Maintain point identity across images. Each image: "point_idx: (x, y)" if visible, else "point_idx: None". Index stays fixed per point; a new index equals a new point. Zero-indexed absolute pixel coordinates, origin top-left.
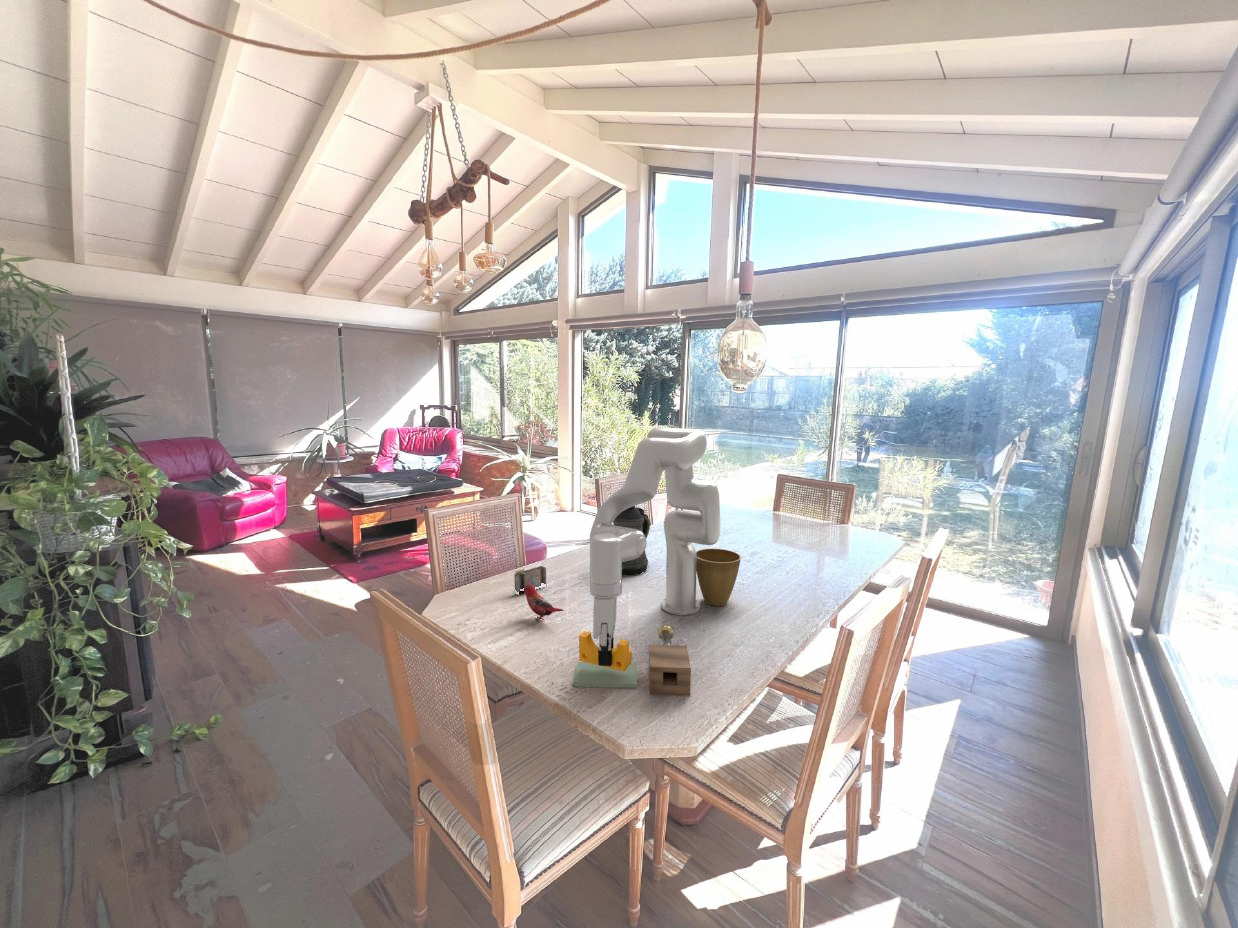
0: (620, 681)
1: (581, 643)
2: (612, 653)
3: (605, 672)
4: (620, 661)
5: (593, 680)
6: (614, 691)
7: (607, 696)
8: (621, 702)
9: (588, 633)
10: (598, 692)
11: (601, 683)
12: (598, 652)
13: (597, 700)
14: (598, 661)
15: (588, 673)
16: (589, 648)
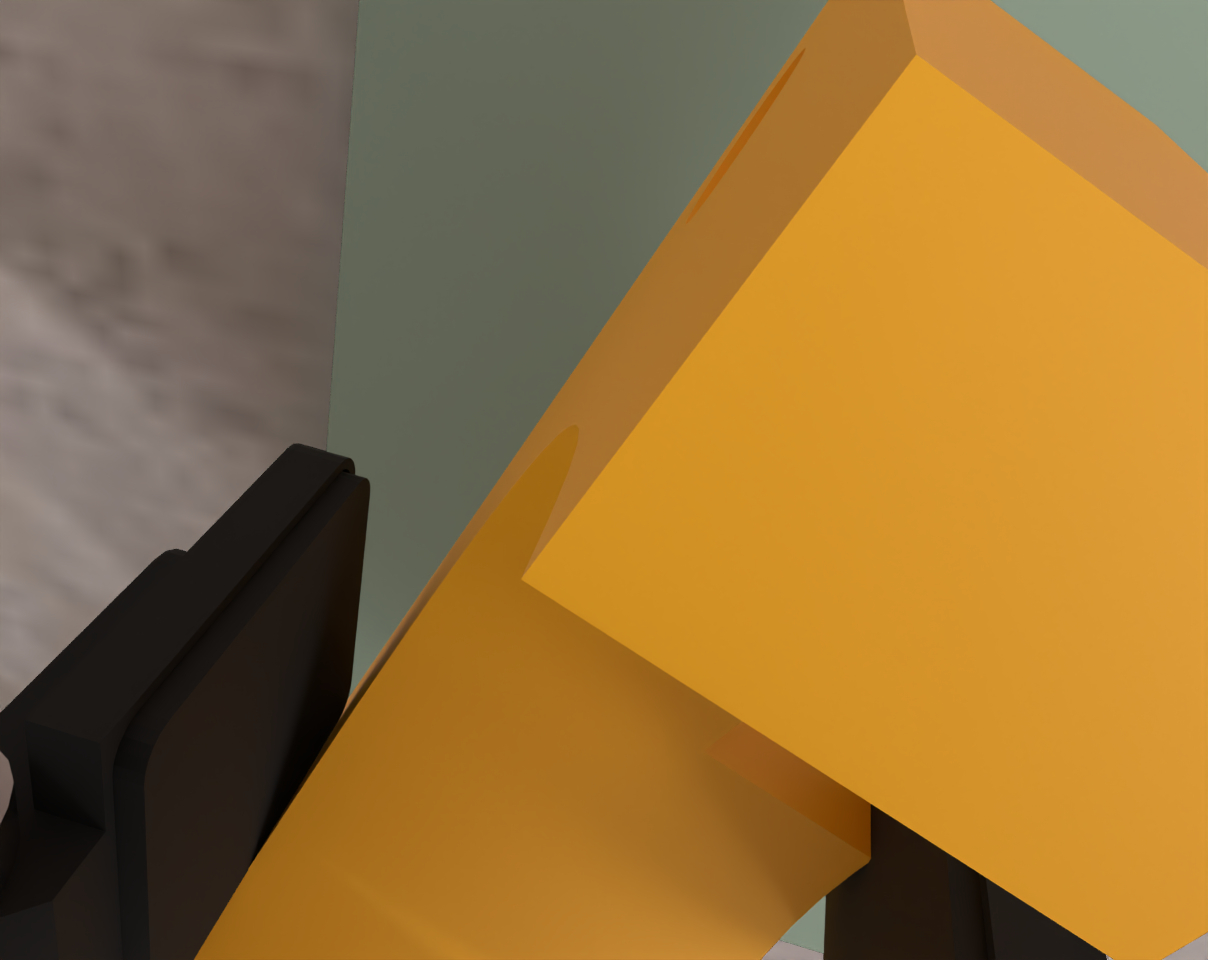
0: (364, 622)
1: (786, 126)
2: (368, 899)
3: None
4: None
5: (416, 197)
6: (247, 470)
7: (121, 346)
8: (10, 497)
9: (1046, 817)
10: (215, 225)
11: (341, 328)
12: (99, 655)
13: (7, 173)
14: (256, 488)
15: (688, 127)
16: (576, 413)
